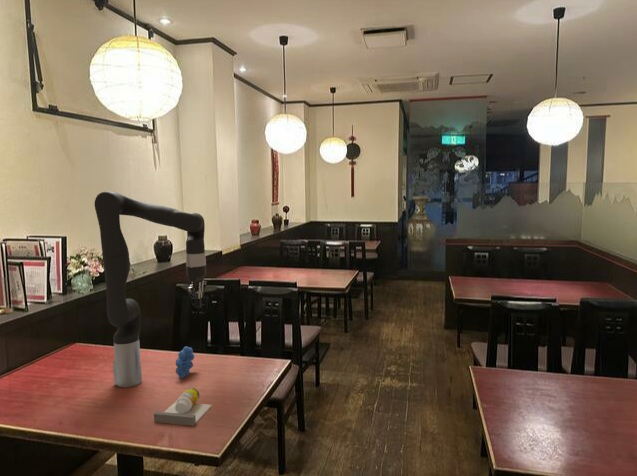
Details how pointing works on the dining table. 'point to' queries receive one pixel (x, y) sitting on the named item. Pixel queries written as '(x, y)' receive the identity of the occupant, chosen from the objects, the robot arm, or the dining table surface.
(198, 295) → the robot arm
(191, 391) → the supplement bottle
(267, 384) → the dining table surface
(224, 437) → the dining table surface
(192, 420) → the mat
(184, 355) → the grapes
